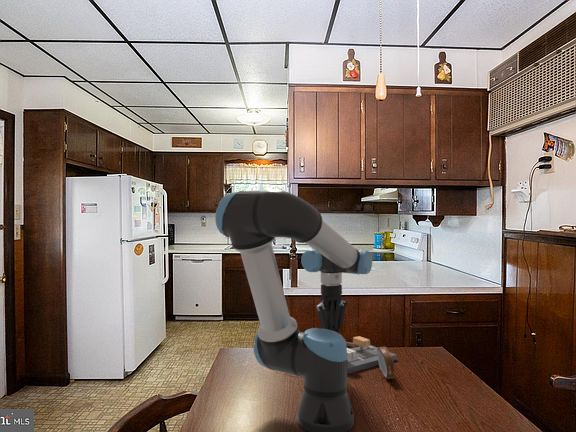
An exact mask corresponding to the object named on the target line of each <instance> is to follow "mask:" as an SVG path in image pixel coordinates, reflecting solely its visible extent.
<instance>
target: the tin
mask: <svg viewBox="0 0 576 432" xmlns="http://www.w3.org/2000/svg"><path fill="white" fill-rule="evenodd" d="M377 348H378V362H379V365H378V366H379V369H380V371H381V374H382V375H383V377H384V378H385V380H394V379H395V365H394V361H393V359H392V356H391V354H390V353H389V352H390V351H389V350H388V348H387V346H378V347H377Z"/></svg>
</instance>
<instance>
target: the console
mask: <svg viewBox="0 0 576 432" xmlns="http://www.w3.org/2000/svg"><path fill="white" fill-rule="evenodd" d="M350 349H351V350H354V351H356V358H355V359H351V360H348V362H347V375H348V374H352V373H356V372H359V371H362V370H366V369H370V368H373V367H377V366H379V362H378V347H376V346H374V345H372V344H370V346H368V347H364V348H363V350H360V346H356V347H351V348H350ZM389 353H390V354H391V356H392V359H393V362H394V361H397V360H398V359H397V354H395V353H393V352H390V351H389Z"/></svg>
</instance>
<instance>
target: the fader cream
mask: <svg viewBox="0 0 576 432" xmlns="http://www.w3.org/2000/svg"><path fill="white" fill-rule="evenodd" d="M347 354H348V357H347V362H348V360H351V359H355V358H356V351H354V350H351V348H348V347H347Z"/></svg>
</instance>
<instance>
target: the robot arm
mask: <svg viewBox="0 0 576 432" xmlns="http://www.w3.org/2000/svg"><path fill="white" fill-rule="evenodd" d="M215 225H216V228H217V230H218V233H220V234H221V235H223V236H225V237H227V238H230V243H231V247H232V249H234V250H235V251H238V252H239V253H240V256H241V260H242V263H243V268H244V271H245V274H246V279H247V281H248V285H249V288H250V292H251V295H252V298H253V303H254V305H255V309H256V314H257V316H258V320H259V324H260V325H259V327H258V328H257V333H256V334H255V336H254V340H253V342H254V344H253V354H254V357H255V359H256V361H257V363H258V364H260V365H261V366H262V367H264V368H266V369H269V370H270V371H275V372H276V371H277V372H280V373H284V374H288V375H292V376H297V377H300V378H302V379H303V392H302V396H301V398H300V403H299V406H298V408H297V423H298V426H300V427H301V428H302V429H303V430H305V431H306V432H348V431H350V430H351V429H352V428H353V426H354V425H355V414H354V410H353V406H352V403H351V400H350V397H349V394H348V374H347V357H348V354H347V348H348V346H347V341H346V339H345V338H344V336H343V335H342V334H341V333H340V330H342V328H343V323H344V322H343V321H344V316H345V313H346V307H347V305H348V301H345V300H343V299H342V294H343V285H342V283H343V281H342V280H343V276H342V275H343V273H344V274H353V275H368V274H370V272H371V271H372V266H373V256H372V253H371V252H370V251H369V250H366V249H365V250H364V249H357V248H355V246H354V245H352V244H351V243H350V242H349V241H348V240H346V239H345V238H344V237H343V236H342V235H341V234H340V233H338V232H337V231H336V230H335V229H334V228H332V227H331V226H330V225H329V224H328V223H327V222H326V221H325V220H324V219H323V216H322V214H321V213H320V211H319V210H317V209H316V208H315V207H314V206H313V205H312V204H310V203H309V202H308V201H306V200H304V199H303V198H301V197H299V196H297V195H295V194H293V193H291V192H288V191H285V190H282V189H276V188H275V189H274V188H273V189H262V190H259V189H258V190H240V191H233V192H229V193H227V194H226V195H224V196H222V198H221V199H220V201H219V203H218V207H216V210H215ZM276 238H286V239H292V240H293V241H295V242H297V243H299V244H306V245H307V246H309V247H310V249H308V250H306V251H304V252H303V253H302V255H301V259H300V260H301V265H302V268H303V269H304V271H306V272H307V273H318V272H320V283H321V284H320V295H321V300H320V303H319V304H316V305H315V309H316V311H317V314H318V319H319V324H320V327H321V328H318V327H312V328H309V329H306V330H305V331H304V332H303V331H300V330H299V325H298V322H297V320H296V319H295V318H294V317H292V316H291V315H290V312H289V308H288V304H287V303H288V302H287V299H286V295H285V291H284V287H283V284H282V280H281V276H280V271H279V267H278V264H277V259H276V256H275V252H274V247H273V245H272V244H273V242H274V240H275V239H276Z"/></svg>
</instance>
